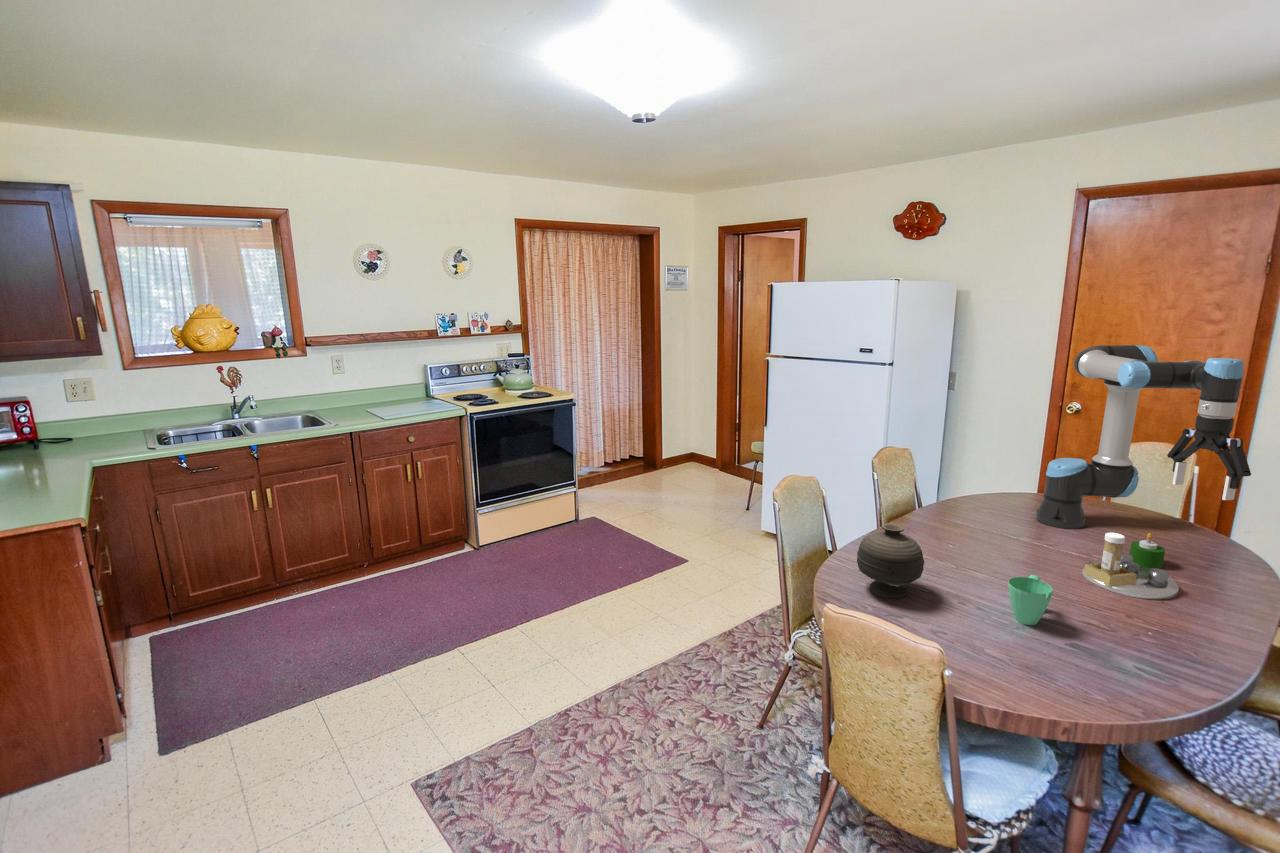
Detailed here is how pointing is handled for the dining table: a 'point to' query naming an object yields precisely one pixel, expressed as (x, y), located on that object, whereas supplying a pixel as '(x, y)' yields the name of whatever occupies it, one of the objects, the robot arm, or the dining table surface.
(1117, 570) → the sprinkles bottle
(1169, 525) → the dining table surface
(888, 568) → the pot
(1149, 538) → the candle
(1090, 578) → the carrier
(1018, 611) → the mug
